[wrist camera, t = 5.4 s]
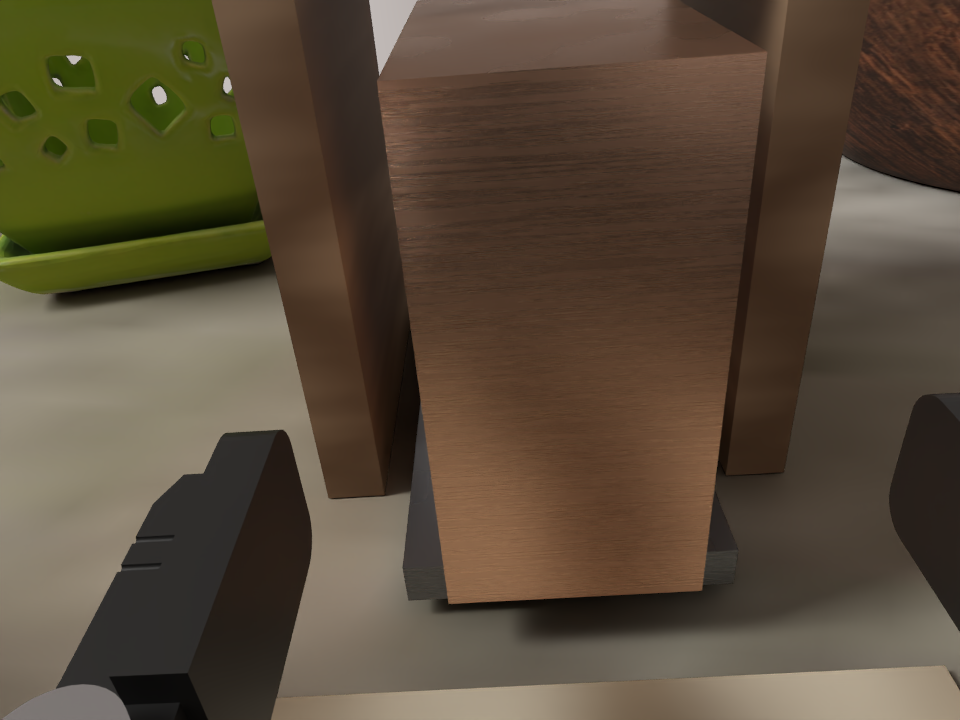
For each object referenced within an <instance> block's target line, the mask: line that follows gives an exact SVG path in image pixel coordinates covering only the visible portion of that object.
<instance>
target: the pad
mask: <svg viewBox="0 0 960 720" xmlns="http://www.w3.org/2000/svg"><path fill="white" fill-rule="evenodd" d="M271 720H960V690H959V688H958V687H957V685H956V683H955V682H954V680H953V678H952V677H951V675H950V673H949V672H948V670H947V668H946V667H945V665H944V666H924V667H903V668H882V669H862V670H841V671H820V672H800V673H779V674H759V675H738V676H717V677H697V678H676V679H655V680H635V681H614V682H594V683H573V684H552V685H532V686H511V687H491V688H470V689H449V690H429V691H408V692H387V693H367V694H346V695H326V696H305V697H284V698H276V701H275V705H274V709H273V713H272V717H271Z"/></svg>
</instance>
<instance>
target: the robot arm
mask: <svg viewBox="0 0 960 720" xmlns="http://www.w3.org/2000/svg"><path fill="white" fill-rule="evenodd" d="M889 504H890V512H891V517H892V521H893V524H894V527H895V529H896V532H897V534H898V536H899V537H900V539H901V541H902V542H903V544H904V545H905V547H906V549H907V550H908V552H909V553H910V555H911V556H912V558H913V559H914V561H915V563H916V564H917V566H918V567H919V569H920V570H921V572H922V574H923V575H924V577H925V578H926V580H927V581H928V583H929V584H930V586H931V588H932V589H933V591H934V592H935V594H936V595H937V597H938V599H939V600H940V602H941V603H942V605H943V606H944V608H945V609H946V611H947V613H948V614H949V616H950V617H951V619H952V620H953V622H954V624H955V625H956V627H957V628H958V630H959V631H960V393H946V394H929V395H924V396H922V397H920V398H919V399H918V400H917V402H916V403H915V405H914V407H913V410H912V413H911V416H910V420H909V423H908V427H907V430H906V434H905V437H904V441H903V444H902V448H901V451H900V455H899V458H898V462H897V465H896V469H895V473H894V476H893V480H892V483H891V487H890V494H889ZM311 550H312V530H311V521H310V516H309V511H308V508H307V504H306V500H305V496H304V492H303V488H302V484H301V480H300V476H299V473H298V469H297V465H296V461H295V457H294V453H293V449H292V445H291V442H290V439H289V437H288V435H287V433H286V432H285V431H284V430H270V431H253V432H235V433H225V434H224V435H223V436H222V437H221V438H220V440H219V442H218V444H217V446H216V448H215V450H214V452H213V454H212V457H211V459H210V461H209V463H208V465H207V467H206V469H205V472H204V474H187V475H183V476H182V477H181V478H180V479H179V480H178V481H177V482H176V483H175V484H174V485H173V486H172V487H171V488H169V489H168V490H167V491H166V492H165V493H164V494H163V495H162V496H161V497H160V498H159V499H158V500H157V501H156V502H155V503H154V504H153V505H152V507H151V509H150V511H149V513H148V515H147V517H146V519H145V521H144V522H143V524H142V526H141V528H140V530H139V532H138V534H137V536H136V544H132V545H131V547H130V549H129V551H128V553H127V555H126V557H125V559H124V561H123V562H122V564H121V566H122V570H121V572H117V574H116V576H115V578H114V580H113V582H112V583H111V585H110V587H109V589H108V591H107V593H106V595H105V597H104V599H103V601H102V602H101V604H100V606H99V608H98V610H97V612H96V614H95V616H94V618H93V620H92V622H91V623H90V625H89V627H88V629H87V631H86V633H85V635H84V637H83V639H82V641H81V643H80V644H79V646H78V648H77V650H76V652H75V654H74V656H73V658H72V660H71V662H70V663H69V665H68V667H67V669H66V671H65V673H64V675H63V677H62V679H61V681H60V682H59V684H58V686H57V687H56V689H54V690H52V691H49V692H46V693H43V694H41V695H39V696H37V697H35V698H33V699H31V700H29V701H27V702H26V703H24V704H22V705H21V706H19V707H18V708H16V709H15V710H13V711H12V712H11V713H9V714H8V715H7V716H5V717H4V718H3V719H2V720H271V717H272V713H273V709H274V705H275V701H276V697H277V693H278V689H279V685H280V681H281V677H282V673H283V669H284V665H285V661H286V657H287V653H288V649H289V645H290V641H291V637H292V633H293V629H294V625H295V621H296V617H297V613H298V609H299V605H300V601H301V597H302V593H303V589H304V585H305V581H306V577H307V573H308V569H309V565H310V559H311Z"/></svg>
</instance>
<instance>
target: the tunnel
mask: <svg viewBox="0 0 960 720" xmlns="http://www.w3.org/2000/svg"><path fill="white" fill-rule="evenodd" d="M679 1H680V2H682V3H684V4H686V5H687V6H689V7H691V8H693V9H694V10H696V11H698V12H699V13H701V14H703V15H705V16H706V17H708V18H710V19H712V20H713V21H715V22H717V23H719V24H720V25H722V26H724V27H726V28H727V29H729V30H731V31H732V32H734V33H736V34H738V35H739V36H741V37H743V38H745V39H746V40H748V41H750V42H752V43H753V44H755V45H757V46H759V47H760V48H762V49H764V50H765V51H767V60H766V69H765V77H764V85H763V93H762V102H761V110H760V118H759V126H758V134H757V143H756V151H755V159H754V167H753V175H752V184H751V192H750V200H749V208H748V216H747V225H746V233H745V241H744V249H743V258H742V266H741V274H740V282H739V290H738V299H737V307H736V315H735V323H734V332H733V340H732V348H731V356H730V364H729V373H728V381H727V389H726V397H725V405H724V414H723V422H722V430H721V438H720V446H719V455H718V458H719V460H720V463H721V465H722V467H723V470H724V472H725V474H726V475H743V474H761V473H778V472H784V469H785V463H786V458H787V452H788V447H789V441H790V436H791V430H792V425H793V419H794V414H795V409H796V403H797V398H798V392H799V387H800V381H801V376H802V370H803V365H804V359H805V354H806V348H807V343H808V338H809V332H810V327H811V321H812V316H813V310H814V305H815V299H816V294H817V288H818V283H819V277H820V272H821V266H822V261H823V256H824V250H825V245H826V239H827V234H828V228H829V223H830V217H831V212H832V206H833V201H834V195H835V190H836V184H837V179H838V174H839V168H840V163H841V157H842V152H843V146H844V141H845V135H846V130H847V124H848V119H849V113H850V108H851V102H852V97H853V92H854V86H855V81H856V75H857V70H858V64H859V59H860V53H861V48H862V42H863V37H864V31H865V26H866V21H867V15H868V10H869V4H870V0H679ZM212 5H213V9H214V13H215V17H216V22H217V26H218V30H219V34H220V39H221V43H222V47H223V51H224V56H225V60H226V64H227V68H228V73H229V77H230V81H231V85H232V90H233V94H234V98H235V102H236V107H237V111H238V115H239V119H240V124H241V128H242V132H243V136H244V141H245V145H246V149H247V153H248V158H249V162H250V166H251V170H252V174H253V179H254V183H255V187H256V191H257V196H258V200H259V204H260V208H261V213H262V217H263V221H264V225H265V230H266V234H267V238H268V242H269V247H270V251H271V255H272V259H273V264H274V268H275V272H276V276H277V281H278V285H279V289H280V293H281V298H282V302H283V306H284V310H285V315H286V319H287V323H288V327H289V332H290V336H291V340H292V344H293V349H294V353H295V357H296V361H297V366H298V370H299V374H300V378H301V383H302V387H303V391H304V395H305V400H306V404H307V408H308V412H309V417H310V421H311V425H312V429H313V434H314V438H315V442H316V446H317V450H318V455H319V459H320V463H321V467H322V472H323V476H324V480H325V484H326V489H327V493H328V497H329V498H342V497H359V496H377V495H385V489H386V483H387V476H388V469H389V462H390V456H391V449H392V442H393V436H394V429H395V422H396V415H397V409H398V402H399V395H400V388H401V382H402V375H403V368H404V362H405V355H406V348H407V341H408V335H409V328H410V319H409V312H408V304H407V297H406V290H405V283H404V275H403V268H402V261H401V254H400V246H399V239H398V232H397V225H396V217H395V210H394V203H393V195H392V188H391V181H390V174H389V166H388V159H387V152H386V145H385V137H384V130H383V123H382V115H381V108H380V101H379V94H378V86H377V80H378V78H379V71H378V64H377V56H376V49H375V41H374V34H373V27H372V19H371V12H370V5H369V0H212Z"/></svg>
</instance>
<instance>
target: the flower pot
mask: <svg viewBox="0 0 960 720" xmlns="http://www.w3.org/2000/svg"><path fill="white" fill-rule="evenodd" d="M69 55H76V56H82V57H81V59H80V60H79V61H78V62H77V63H76V64H74V65H73V64H71V63H70V61H69V60H68V58H67V57H66V56H69ZM184 55H186V56H188V58H189V60H188V59H186V58H185V56H184ZM225 77H229V73H228V68H227V64H226V60H225V56H224V51H223V47H222V43H221V39H220V34H219V30H218V26H217V22H216V17H215V13H214V9H213V5H212V0H0V232H1V233H2V234H3V235H2V236H1V238H0V281H2V282H4V283H6V284H8V285H11V286H13V287H16V288H18V289H21V290H24V291H28V292H31V293H38V294H53V293H62V292H74V291H80V290H84V289H90V288H97V287H104V286H111V285H117V284H124V283H130V282H137V281H144V280H150V279H157V278H164V277H170V276H177V275H183V274H189V273H196V272H202V271H208V270H214V269H221V268H227V267H233V266H239V265H245V264H247V265H250V264H259V263H261V262H263V261H265V260H266V259H268V258H270V257H271V256H272V255H271V251H270V247H269V242H268V238H267V234H266V230H265V225H264V221H263V217H262V213H261V208H260V204H259V200H258V196H257V191H256V187H255V183H254V179H253V174H252V170H251V166H250V162H249V158H248V153H247V149H246V145H245V141H244V136H243V132H242V128H241V124H240V119H239V115H238V111H237V107H236V102H235V98H234V94H233V90H232V89H231V91H230V92H229V93H228V94H227V93H225V91H224V90H223V83H224V79H225ZM52 78H57V79H59V80H60V82H61V83H62V86H63V87H62V86H59V85H57V84H56V83H55V82H54V81H53V79H52ZM229 79H230V77H229ZM157 86H161V87H162V88H163V89H164V91H165V93H166V96H167V100H166V102H165V103H163V104H160V105H158V104H157V103H156V102H155V100H154V97H153V95H152V89H153V88H154V87H157Z"/></svg>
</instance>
